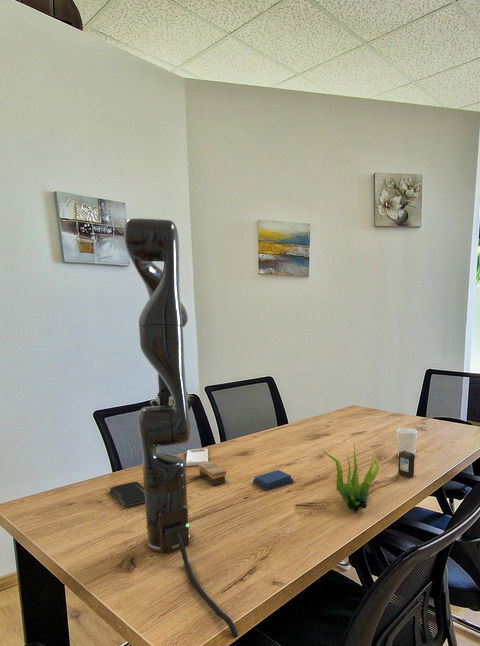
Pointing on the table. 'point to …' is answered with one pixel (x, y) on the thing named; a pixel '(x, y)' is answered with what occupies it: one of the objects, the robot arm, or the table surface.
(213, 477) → the tan two-tone block
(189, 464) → the phone case
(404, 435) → the white cup
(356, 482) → the decorative plant
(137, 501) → the phone
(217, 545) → the table surface
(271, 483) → the folded cloth
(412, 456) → the ink cartridge
